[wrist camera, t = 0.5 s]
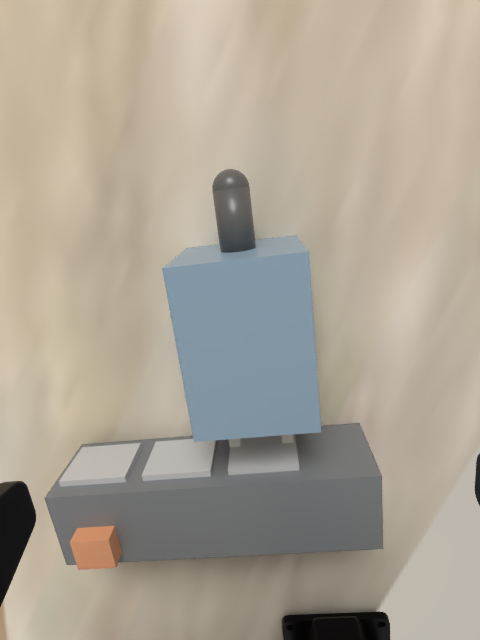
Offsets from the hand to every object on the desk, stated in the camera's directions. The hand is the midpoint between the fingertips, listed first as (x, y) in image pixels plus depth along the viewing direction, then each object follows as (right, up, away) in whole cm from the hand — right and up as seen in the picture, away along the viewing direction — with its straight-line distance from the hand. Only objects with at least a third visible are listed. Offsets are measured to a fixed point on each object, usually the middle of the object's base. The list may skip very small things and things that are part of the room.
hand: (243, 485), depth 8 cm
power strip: (-1, -5, +14) cm, 15 cm away
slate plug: (0, +4, +11) cm, 12 cm away
